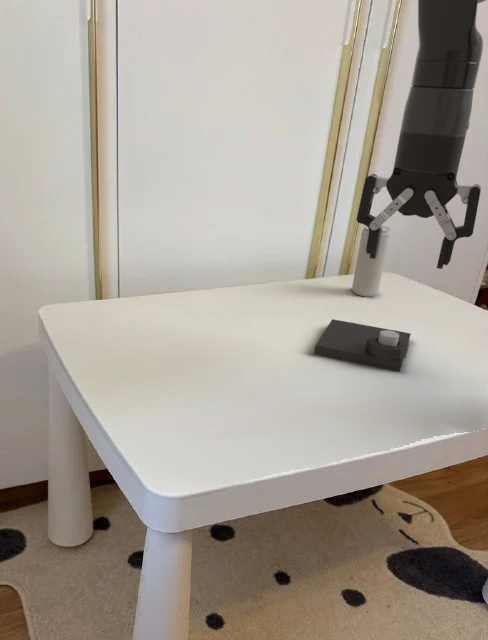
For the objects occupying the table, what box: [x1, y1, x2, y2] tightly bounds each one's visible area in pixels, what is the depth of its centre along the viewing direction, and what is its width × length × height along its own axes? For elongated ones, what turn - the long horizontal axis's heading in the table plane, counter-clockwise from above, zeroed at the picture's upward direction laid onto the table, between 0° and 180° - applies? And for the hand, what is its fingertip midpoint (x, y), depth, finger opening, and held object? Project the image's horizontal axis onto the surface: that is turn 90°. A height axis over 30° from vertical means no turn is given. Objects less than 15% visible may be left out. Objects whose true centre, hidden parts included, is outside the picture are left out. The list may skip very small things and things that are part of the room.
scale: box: [313, 318, 411, 372], centre depth 93 cm, size 12×12×3 cm
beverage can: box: [351, 225, 391, 297], centre depth 114 cm, size 5×5×12 cm
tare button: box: [378, 329, 399, 346], centre depth 88 cm, size 3×3×2 cm
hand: (406, 262), depth 83 cm, fingers open, 8 cm apart
